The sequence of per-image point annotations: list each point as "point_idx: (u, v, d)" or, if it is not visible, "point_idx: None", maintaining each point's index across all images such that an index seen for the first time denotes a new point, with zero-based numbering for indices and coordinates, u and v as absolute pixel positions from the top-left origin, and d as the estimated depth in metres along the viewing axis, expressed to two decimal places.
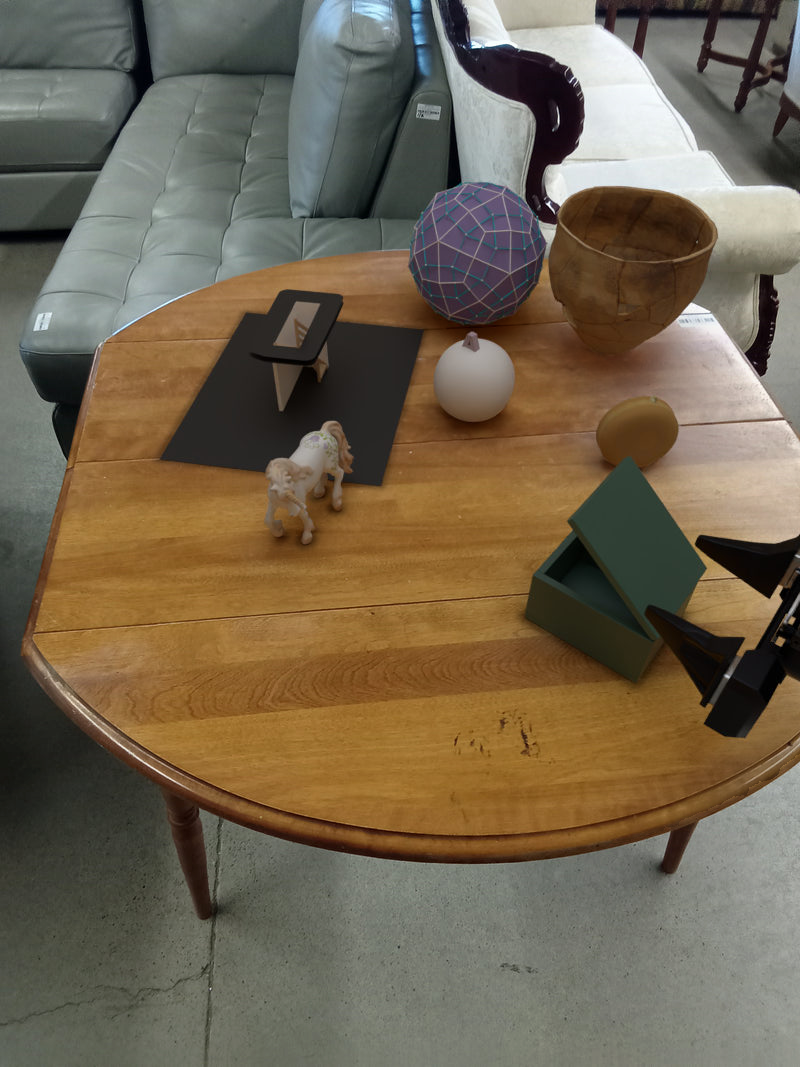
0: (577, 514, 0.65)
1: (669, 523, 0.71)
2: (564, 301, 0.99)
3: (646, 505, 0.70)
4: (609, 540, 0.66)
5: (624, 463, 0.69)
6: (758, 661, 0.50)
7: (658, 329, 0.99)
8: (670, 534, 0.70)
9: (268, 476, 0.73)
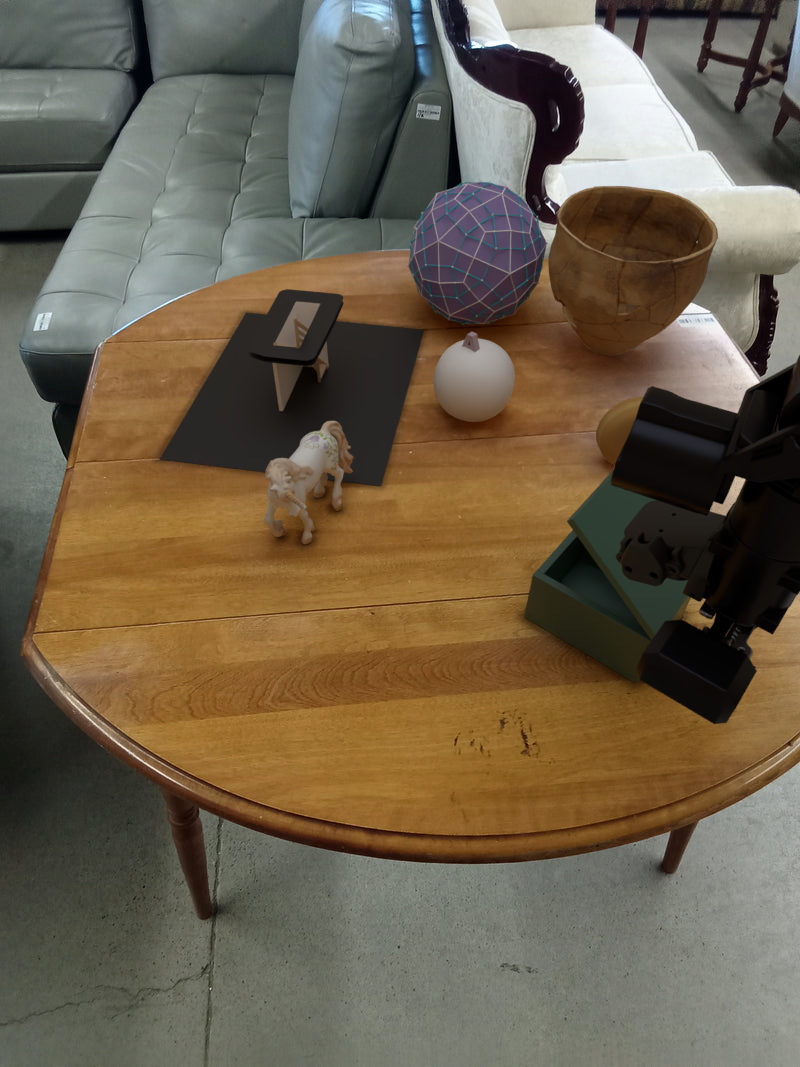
0: (577, 514, 0.65)
1: None
2: (564, 301, 0.99)
3: None
4: (609, 540, 0.66)
5: None
6: None
7: (658, 329, 0.99)
8: None
9: (268, 476, 0.73)
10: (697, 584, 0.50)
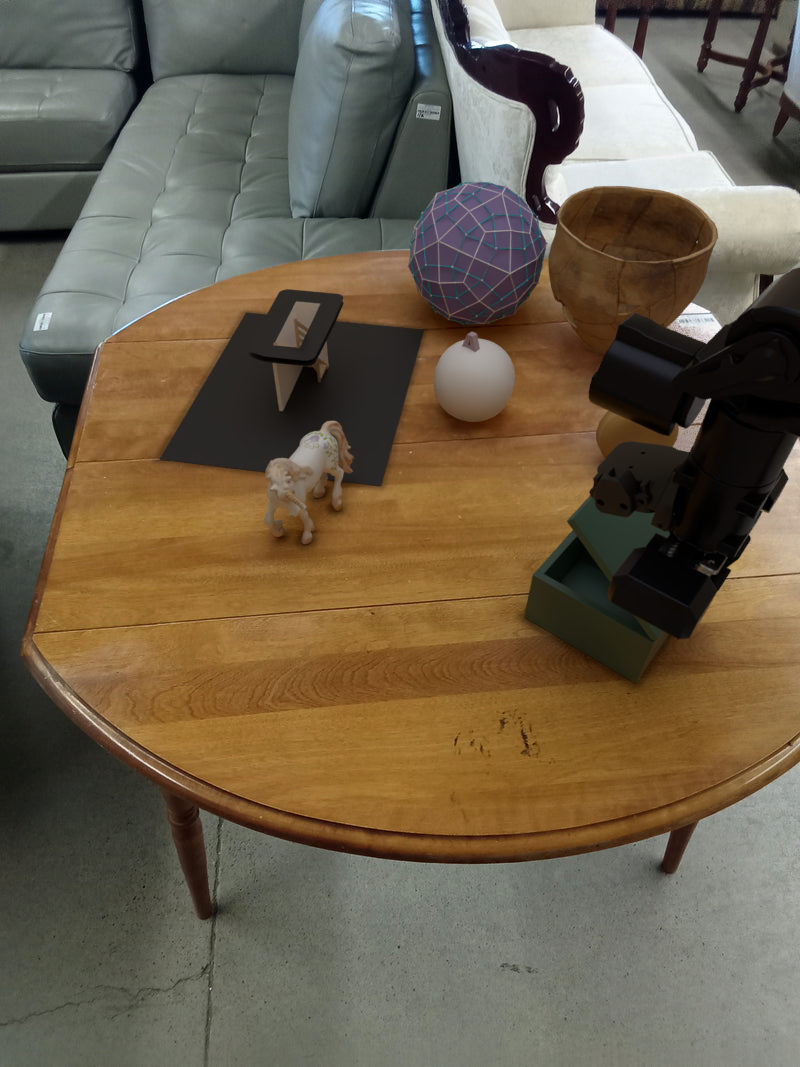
0: (577, 514, 0.65)
1: None
2: (564, 301, 0.99)
3: None
4: (609, 540, 0.66)
5: None
6: None
7: None
8: None
9: (268, 476, 0.73)
10: (663, 514, 0.54)
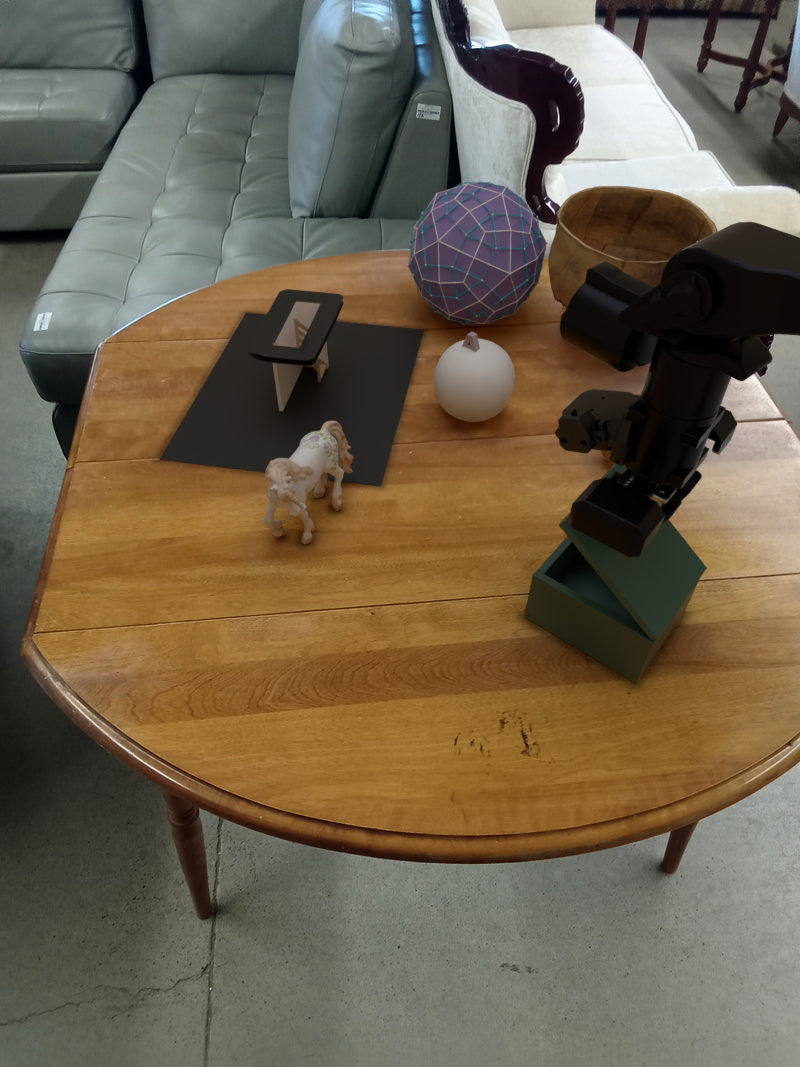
0: (568, 517, 0.66)
1: (664, 525, 0.71)
2: (564, 301, 0.99)
3: None
4: None
5: (615, 467, 0.70)
6: None
7: None
8: (666, 535, 0.71)
9: (268, 476, 0.73)
10: (619, 450, 0.60)
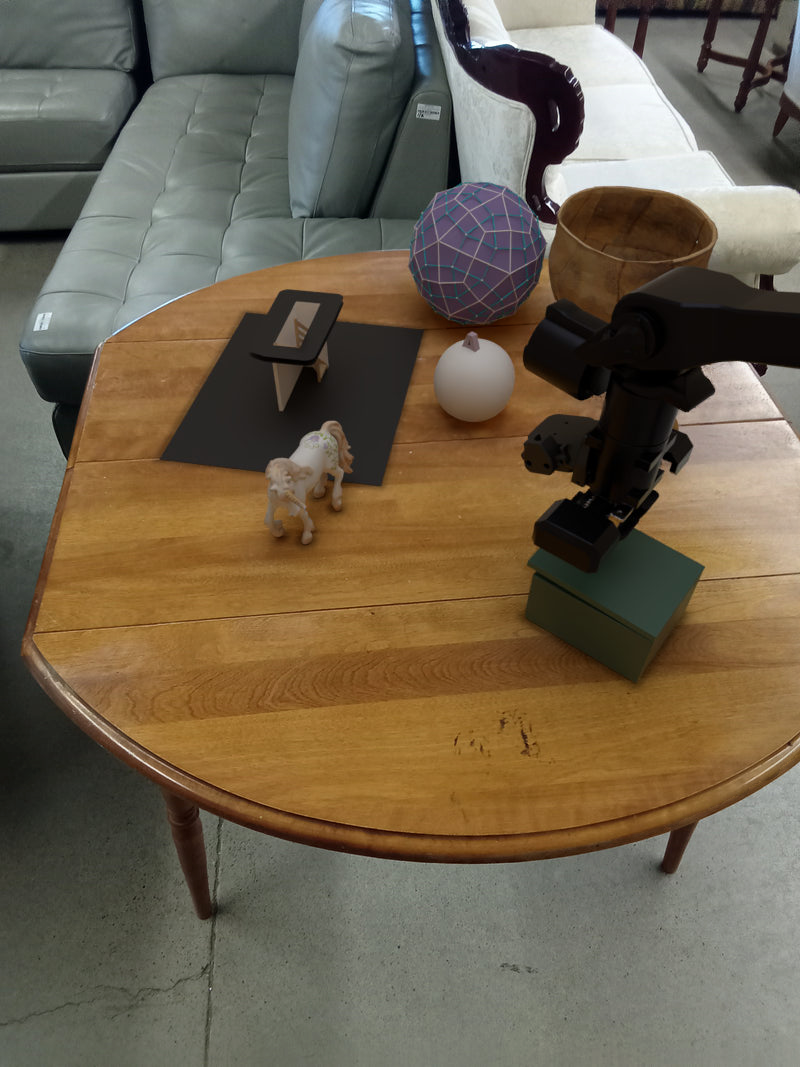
0: (532, 556, 0.72)
1: (644, 540, 0.74)
2: None
3: None
4: (573, 568, 0.71)
5: None
6: None
7: None
8: (647, 548, 0.73)
9: (268, 476, 0.73)
10: (580, 472, 0.64)
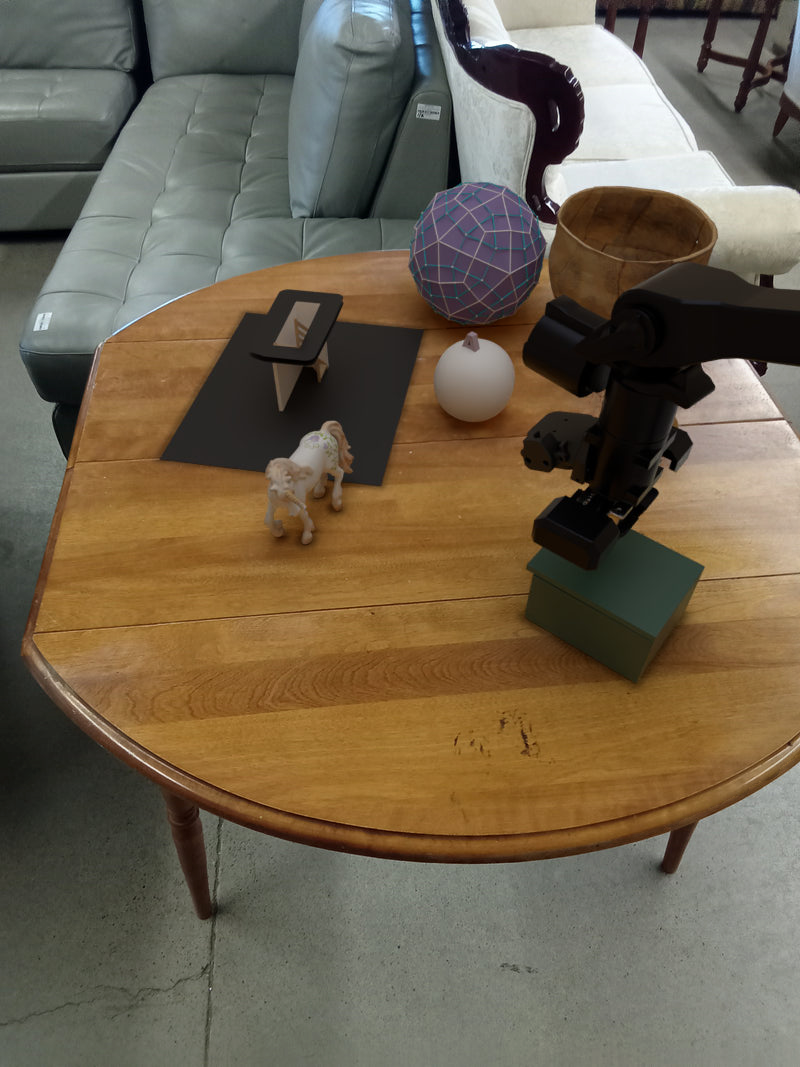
0: (531, 559, 0.72)
1: (643, 542, 0.74)
2: None
3: None
4: (572, 570, 0.72)
5: None
6: None
7: None
8: (647, 550, 0.73)
9: (268, 476, 0.73)
10: (579, 469, 0.64)
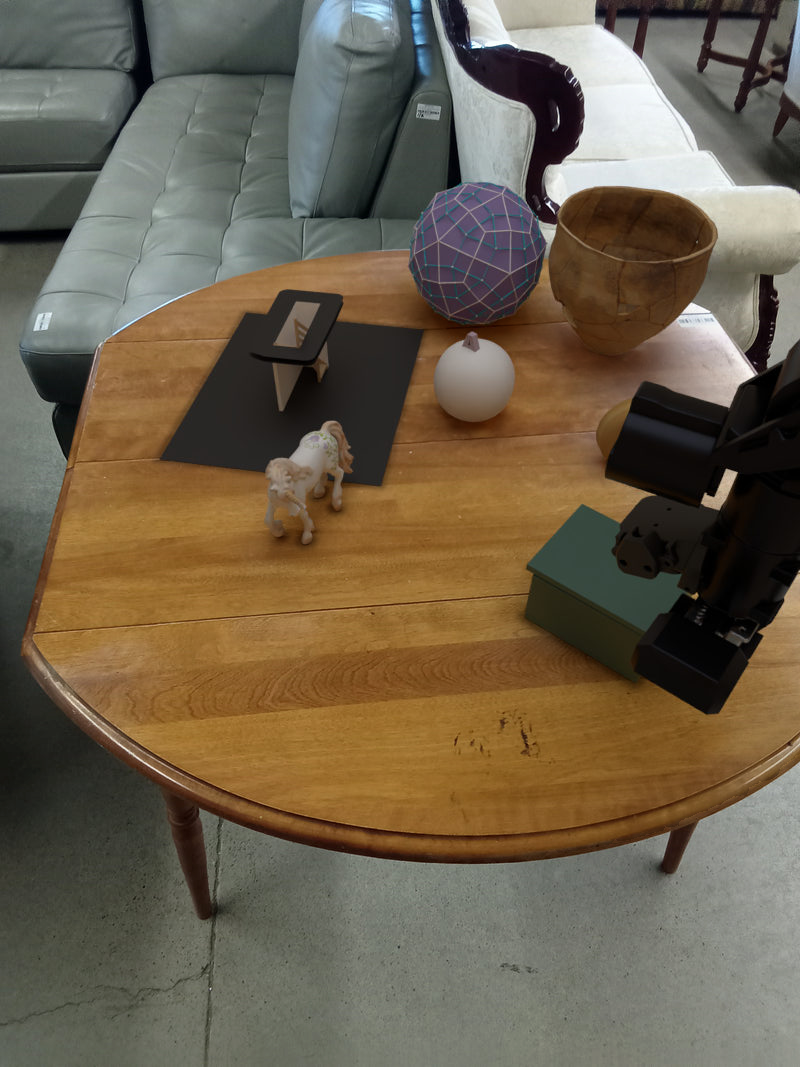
0: (531, 559, 0.72)
1: None
2: (564, 301, 0.99)
3: (611, 534, 0.75)
4: (572, 570, 0.72)
5: (576, 510, 0.77)
6: None
7: (658, 329, 0.99)
8: None
9: (268, 476, 0.73)
10: (691, 577, 0.50)
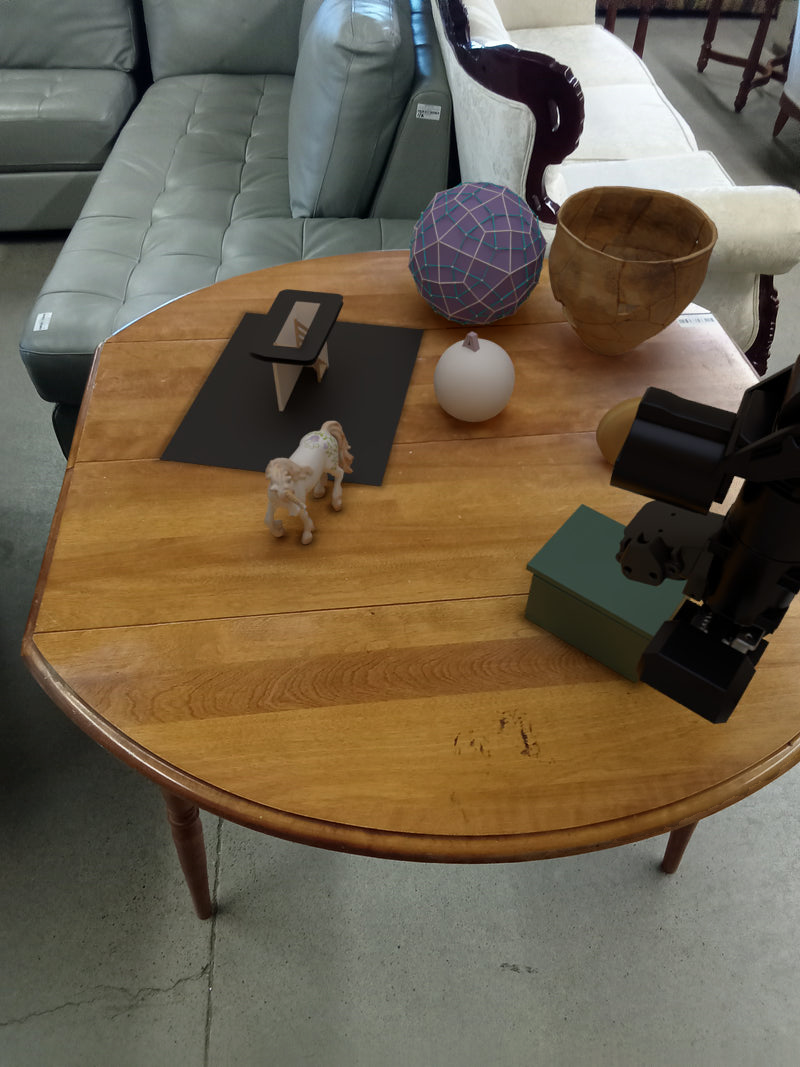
0: (531, 559, 0.72)
1: None
2: (564, 301, 0.99)
3: (611, 534, 0.75)
4: (572, 570, 0.72)
5: (576, 510, 0.77)
6: None
7: (658, 329, 0.99)
8: None
9: (268, 476, 0.73)
10: (697, 584, 0.50)
